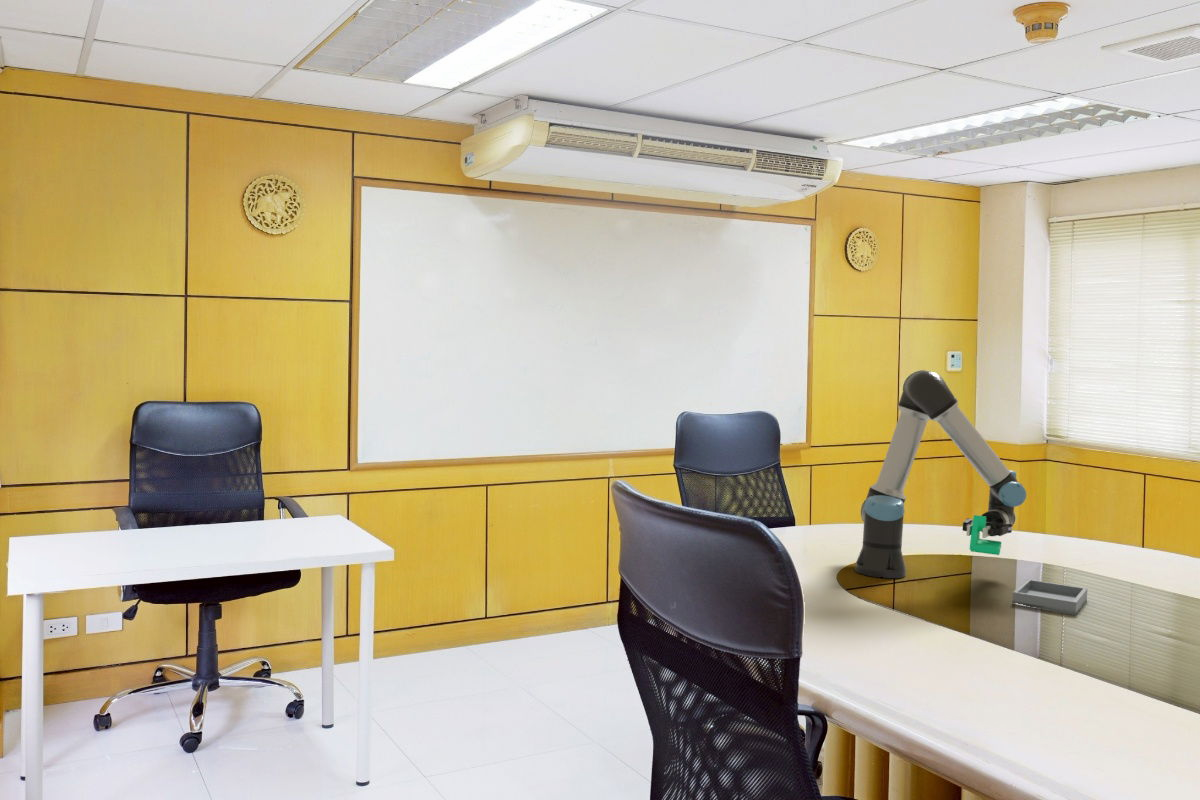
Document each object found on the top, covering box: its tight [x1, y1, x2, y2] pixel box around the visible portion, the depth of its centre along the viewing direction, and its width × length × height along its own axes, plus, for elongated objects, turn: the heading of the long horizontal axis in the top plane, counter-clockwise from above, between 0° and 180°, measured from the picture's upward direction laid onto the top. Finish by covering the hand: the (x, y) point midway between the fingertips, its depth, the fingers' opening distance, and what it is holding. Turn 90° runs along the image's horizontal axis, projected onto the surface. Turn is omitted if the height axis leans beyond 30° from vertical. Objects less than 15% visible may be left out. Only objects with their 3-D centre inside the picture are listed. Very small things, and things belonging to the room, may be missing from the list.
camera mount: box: [969, 514, 1002, 556], centre depth 288 cm, size 12×8×10 cm, turn 154°
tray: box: [1011, 578, 1088, 616], centre depth 280 cm, size 16×22×4 cm
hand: (976, 532), depth 285 cm, fingers closed on camera mount, 4 cm apart
